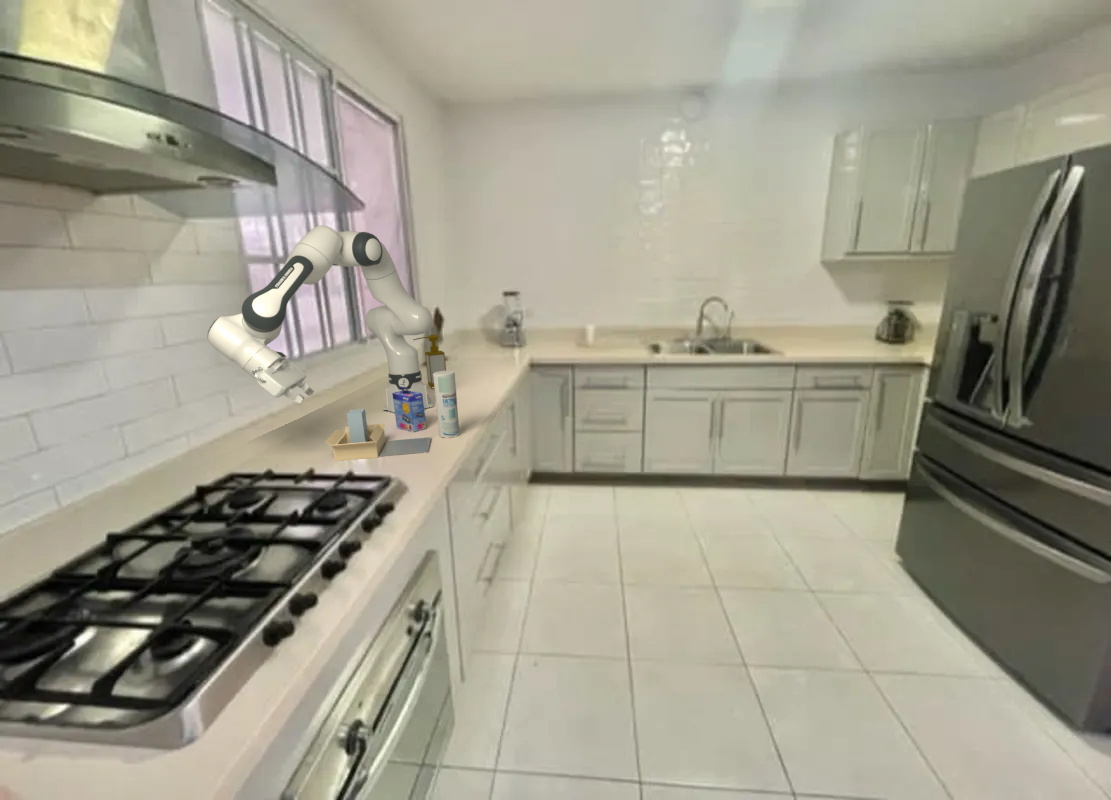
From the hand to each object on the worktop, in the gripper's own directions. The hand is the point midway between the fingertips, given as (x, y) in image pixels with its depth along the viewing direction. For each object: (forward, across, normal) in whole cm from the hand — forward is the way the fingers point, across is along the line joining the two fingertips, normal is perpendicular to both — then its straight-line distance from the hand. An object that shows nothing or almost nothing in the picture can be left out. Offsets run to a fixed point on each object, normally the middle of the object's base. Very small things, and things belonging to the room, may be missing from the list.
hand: (307, 397), depth 152 cm
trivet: (+30, 0, -6) cm, 31 cm away
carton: (+21, 0, +3) cm, 21 cm away
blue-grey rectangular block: (+21, 0, +3) cm, 21 cm away
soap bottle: (+31, +90, -6) cm, 95 cm away
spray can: (+39, +9, -14) cm, 42 cm away
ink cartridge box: (+30, +21, -5) cm, 37 cm away
